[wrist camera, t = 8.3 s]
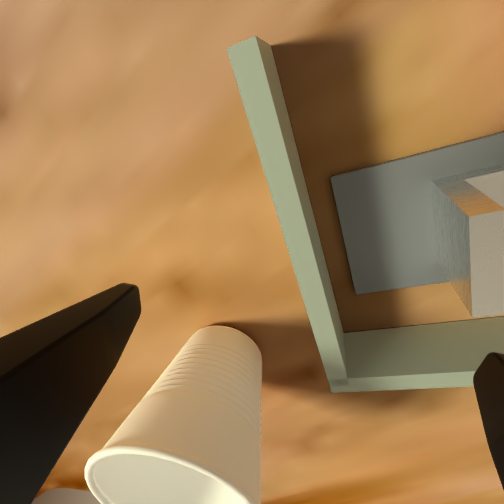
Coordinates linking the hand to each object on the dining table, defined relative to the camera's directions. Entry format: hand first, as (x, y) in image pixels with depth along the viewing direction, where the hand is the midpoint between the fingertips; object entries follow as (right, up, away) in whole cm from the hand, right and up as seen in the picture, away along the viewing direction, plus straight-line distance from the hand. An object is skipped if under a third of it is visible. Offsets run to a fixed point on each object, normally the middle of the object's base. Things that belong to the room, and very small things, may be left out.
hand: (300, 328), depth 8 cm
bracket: (+12, +4, +8) cm, 15 cm away
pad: (+9, +4, +9) cm, 14 cm away
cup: (-3, -6, +18) cm, 19 cm away
